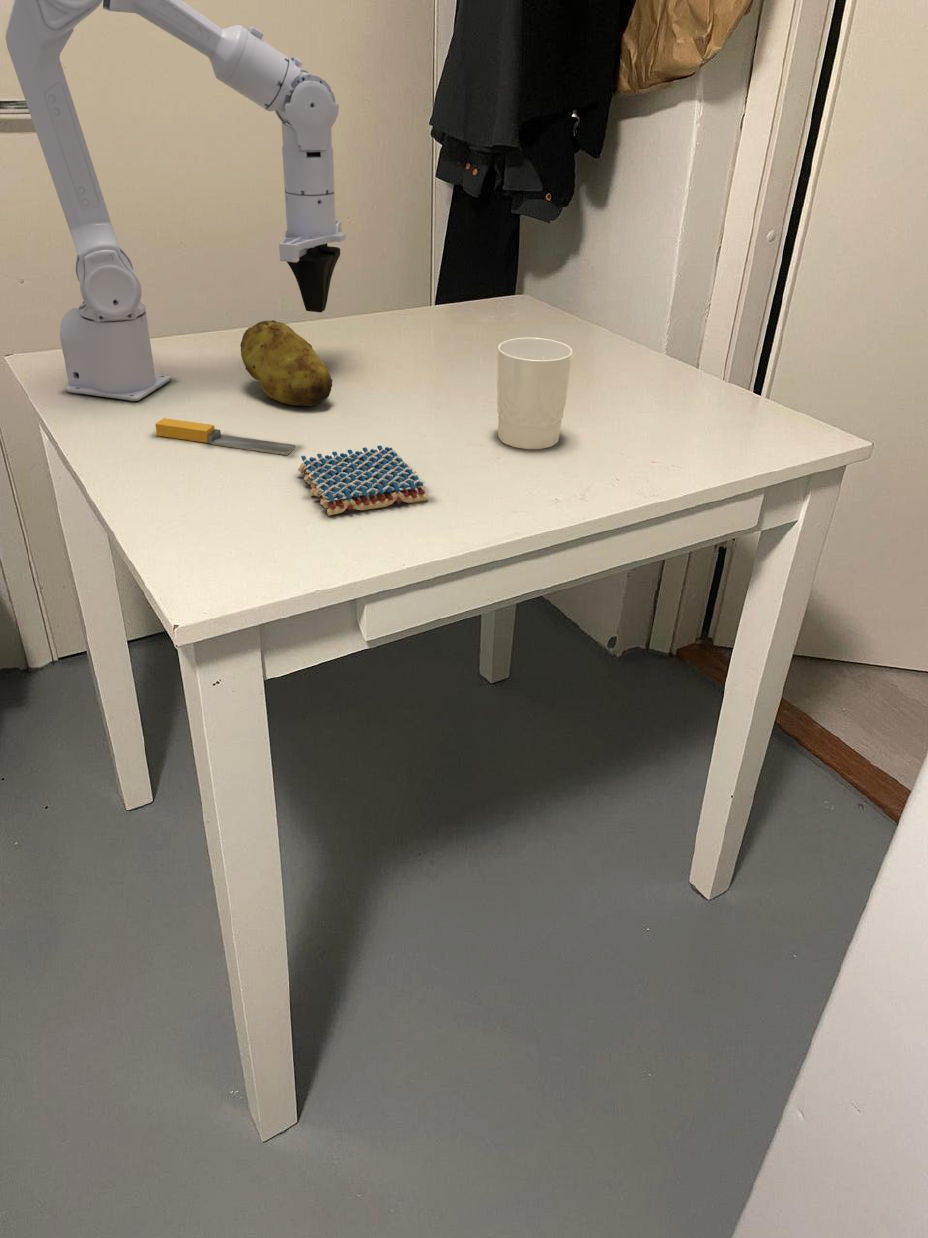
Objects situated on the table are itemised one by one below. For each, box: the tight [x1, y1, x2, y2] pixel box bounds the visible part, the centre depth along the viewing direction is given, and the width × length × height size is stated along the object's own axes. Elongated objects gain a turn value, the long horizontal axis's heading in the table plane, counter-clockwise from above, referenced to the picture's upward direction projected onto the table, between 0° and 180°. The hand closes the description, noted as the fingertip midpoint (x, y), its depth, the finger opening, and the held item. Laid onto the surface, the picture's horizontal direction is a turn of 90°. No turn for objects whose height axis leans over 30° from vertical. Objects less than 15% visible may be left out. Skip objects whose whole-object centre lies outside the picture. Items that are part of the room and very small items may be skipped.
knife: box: [155, 417, 296, 456], centre depth 102 cm, size 15×2×1 cm, turn 75°
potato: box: [239, 319, 333, 407], centre depth 112 cm, size 8×13×8 cm, turn 28°
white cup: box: [496, 337, 574, 450], centre depth 103 cm, size 8×8×10 cm
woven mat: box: [297, 445, 430, 516], centre depth 93 cm, size 10×11×2 cm
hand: (315, 310), depth 118 cm, fingers closed
